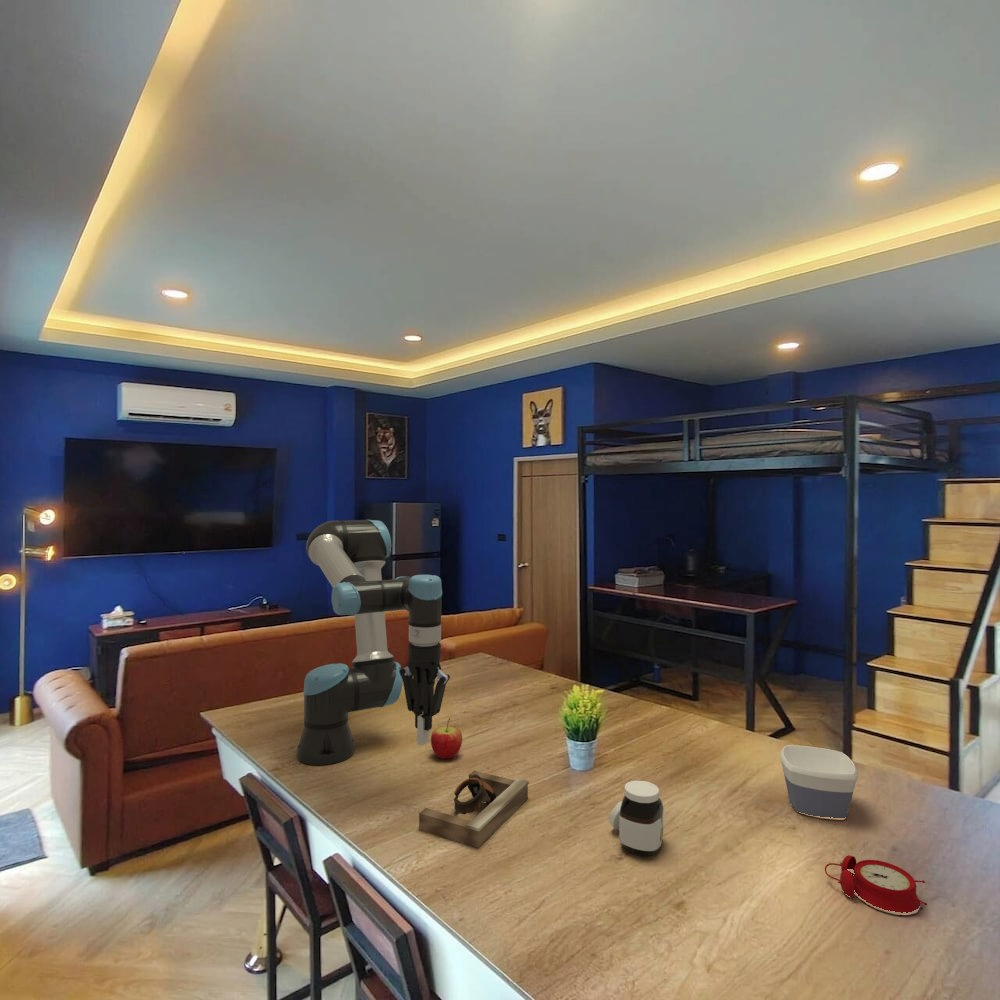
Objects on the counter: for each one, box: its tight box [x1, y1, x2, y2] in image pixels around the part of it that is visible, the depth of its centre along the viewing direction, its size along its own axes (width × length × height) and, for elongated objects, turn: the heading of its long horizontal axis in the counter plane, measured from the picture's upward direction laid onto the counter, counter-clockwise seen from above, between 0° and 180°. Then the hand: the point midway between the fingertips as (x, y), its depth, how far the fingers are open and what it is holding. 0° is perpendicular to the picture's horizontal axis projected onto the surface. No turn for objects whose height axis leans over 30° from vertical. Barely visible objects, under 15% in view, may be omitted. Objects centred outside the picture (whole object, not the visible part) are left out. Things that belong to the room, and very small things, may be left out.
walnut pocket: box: [418, 770, 530, 849], centre depth 136 cm, size 15×23×4 cm, turn 152°
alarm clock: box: [824, 855, 928, 913], centre depth 109 cm, size 10×6×15 cm
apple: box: [430, 717, 463, 760], centre depth 166 cm, size 8×8×10 cm
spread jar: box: [608, 780, 664, 856], centre depth 125 cm, size 12×11×12 cm
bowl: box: [780, 744, 859, 818], centre depth 139 cm, size 15×15×11 cm
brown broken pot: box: [453, 774, 497, 815], centre depth 138 cm, size 12×10×8 cm
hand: (423, 742), depth 143 cm, fingers closed
